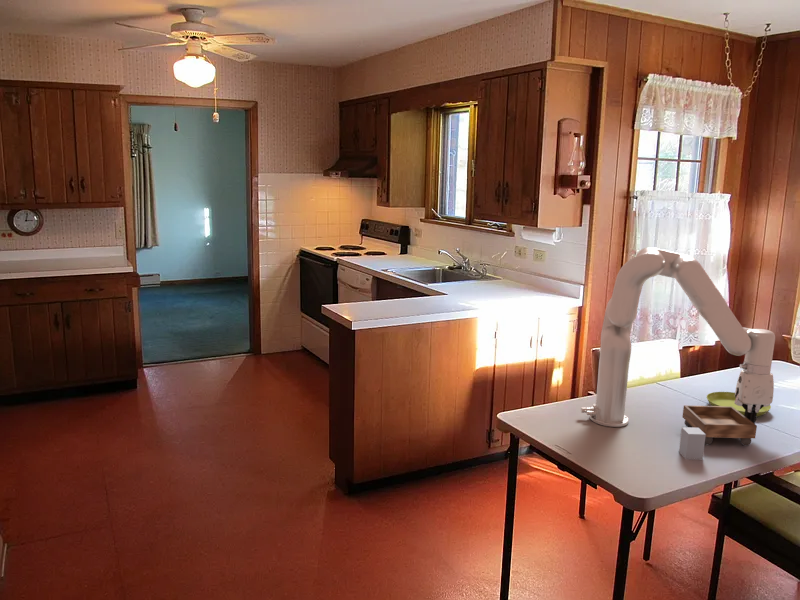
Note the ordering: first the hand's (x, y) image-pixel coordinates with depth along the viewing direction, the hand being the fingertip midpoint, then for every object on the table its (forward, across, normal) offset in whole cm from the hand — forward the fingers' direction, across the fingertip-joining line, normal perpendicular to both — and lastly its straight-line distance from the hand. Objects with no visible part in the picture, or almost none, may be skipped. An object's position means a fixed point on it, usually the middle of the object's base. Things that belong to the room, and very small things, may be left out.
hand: (749, 422), depth 208 cm
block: (+5, -24, -15) cm, 29 cm away
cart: (+5, -10, 0) cm, 11 cm away
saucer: (+6, +9, +25) cm, 27 cm away
